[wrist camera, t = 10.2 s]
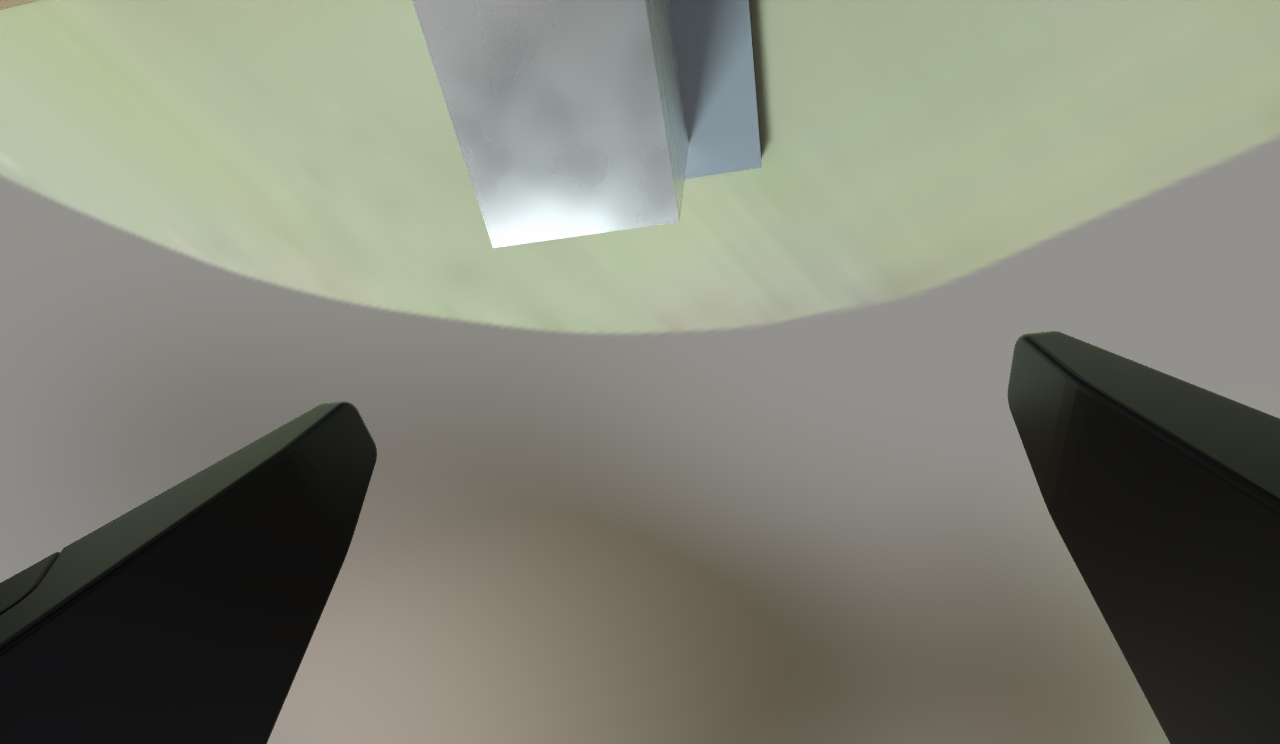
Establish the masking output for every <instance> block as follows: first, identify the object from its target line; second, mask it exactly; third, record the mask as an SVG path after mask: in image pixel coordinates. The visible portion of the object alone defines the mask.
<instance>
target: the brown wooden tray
mask: <svg viewBox="0 0 1280 744" xmlns="http://www.w3.org/2000/svg"><path fill="white" fill-rule="evenodd" d="M34 1H38V0H0V10H1V9H5V8H9V7H13V6H17V5H21V4H26V3H30V2H34Z"/></svg>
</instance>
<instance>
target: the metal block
mask: <svg viewBox="0 0 1280 744" xmlns="http://www.w3.org/2000/svg"><path fill="white" fill-rule="evenodd" d="M413 3H414V6H415V9H416V12H417V16H418V19H419V22H420V25H421V28H422V31H423V34H424V37H425V40H426V43H427V46H428V49H429V52H430V56H431V59H432V62H433V65H434V68H435V71H436V74H437V77H438V80H439V83H440V86H441V89H442V92H443V96H444V99H445V102H446V105H447V108H448V111H449V114H450V117H451V120H452V123H453V126H454V129H455V132H456V136H457V139H458V142H459V145H460V148H461V151H462V154H463V157H464V160H465V163H466V166H467V169H468V172H469V176H470V179H471V182H472V185H473V188H474V191H475V194H476V197H477V200H478V203H479V206H480V209H481V212H482V216H483V219H484V222H485V225H486V228H487V231H488V234H489V237H490V240H491V243H492V246H493V248H497V247H504V246H511V245H518V244H525V243H532V242H539V241H547V240H554V239H561V238H568V237H575V236H582V235H589V234H597V233H604V232H611V231H618V230H625V229H632V228H639V227H647V226H654V225H661V224H668V223H675V222H679V221H680V213H681V205H682V197H683V189H684V181H685V173H686V165H687V157H688V149H689V138H688V131H687V124H686V116H685V109H684V102H683V94H682V87H681V80H680V72H679V65H678V58H677V51H676V43H675V36H674V29H673V21H672V14H671V7H670V0H413Z"/></svg>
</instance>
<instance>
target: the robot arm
mask: <svg viewBox="0 0 1280 744" xmlns="http://www.w3.org/2000/svg"><path fill="white" fill-rule="evenodd" d="M1008 403H1009V407H1010V410H1011V413H1012V416H1013V419H1014V421H1015V424H1016V427H1017V429H1018V432H1019V435H1020V438H1021V440H1022V443H1023V446H1024V448H1025V451H1026V454H1027V456H1028V459H1029V462H1030V464H1031V467H1032V470H1033V472H1034V475H1035V478H1036V480H1037V483H1038V486H1039V488H1040V491H1041V494H1042V496H1043V499H1044V501H1045V504H1046V506H1047V509H1048V511H1049V513H1050V515H1051V517H1052V519H1053V521H1054V523H1055V526H1056V527H1057V530H1058V531H1059V533H1060V535H1061V537H1062V539H1063V541H1064V543H1065V545H1066V547H1067V549H1068V550H1069V552H1070V554H1071V556H1072V558H1073V560H1074V562H1075V563H1076V566H1077V568H1078V569H1079V571H1080V573H1081V575H1082V577H1083V579H1084V581H1085V583H1086V585H1087V586H1088V588H1089V590H1090V592H1091V594H1092V596H1093V598H1094V600H1095V602H1096V604H1097V605H1098V607H1099V609H1100V611H1101V613H1102V615H1103V617H1104V619H1105V621H1106V623H1107V624H1108V626H1109V628H1110V630H1111V632H1112V634H1113V636H1114V638H1115V640H1116V642H1117V643H1118V645H1119V647H1120V649H1121V651H1122V653H1123V655H1124V657H1125V659H1126V661H1127V662H1128V664H1129V666H1130V668H1131V670H1132V672H1133V674H1134V676H1135V678H1136V679H1137V681H1138V683H1139V685H1140V687H1141V689H1142V691H1143V693H1144V695H1145V697H1146V699H1147V700H1148V702H1149V704H1150V706H1151V708H1152V710H1153V712H1154V714H1155V716H1156V717H1157V719H1158V721H1159V723H1160V725H1161V727H1162V729H1163V731H1164V732H1165V735H1166V736H1167V738H1168V740H1169V742H1170V744H1280V419H1279V418H1277V417H1274V416H1271V415H1269V414H1266V413H1264V412H1261V411H1259V410H1256V409H1254V408H1251V407H1248V406H1246V405H1243V404H1241V403H1238V402H1236V401H1233V400H1231V399H1228V398H1226V397H1223V396H1221V395H1218V394H1216V393H1213V392H1210V391H1208V390H1205V389H1203V388H1200V387H1198V386H1195V385H1193V384H1190V383H1188V382H1185V381H1183V380H1180V379H1177V378H1175V377H1172V376H1170V375H1167V374H1164V373H1162V372H1160V371H1157V370H1154V369H1152V368H1149V367H1147V366H1144V365H1142V364H1139V363H1137V362H1134V361H1132V360H1129V359H1127V358H1124V357H1122V356H1119V355H1117V354H1114V353H1111V352H1109V351H1106V350H1104V349H1101V348H1099V347H1096V346H1094V345H1091V344H1089V343H1086V342H1083V341H1081V340H1078V339H1076V338H1073V337H1071V336H1068V335H1066V334H1063V333H1061V332H1055V331H1051V332H1041V333H1031V334H1024V335H1022V336H1021V337H1020V338H1018V340H1017V342H1016V344H1015V348H1014V354H1013V360H1012V366H1011V373H1010V380H1009V386H1008ZM376 457H377V449H376V445H375V443H374V441H373V439H372V437H371V435H370V433H369V431H368V429H367V427H366V425H365V423H364V421H363V419H362V417H361V415H360V414H359V412H358V410H357V408H356V407H355V406H354V405H353V404H352V403H349V402H346V401H345V402H333V403H325V404H321V405H319V406H317V407H315V408H313V409H312V410H310V411H308V412H306V413H304V414H303V415H301V416H299V417H297V418H295V419H294V420H292V421H290V422H288V423H287V424H285V425H283V426H281V427H279V428H278V429H276V430H274V431H272V432H270V433H269V434H267V435H265V436H263V437H262V438H260V439H258V440H256V441H254V442H252V443H251V444H249V445H247V446H245V447H244V448H242V449H240V450H238V451H236V452H235V453H233V454H231V455H229V456H228V457H226V458H224V459H222V460H221V461H218V462H217V463H215V464H213V465H211V466H210V467H208V468H206V469H204V470H202V471H201V472H199V473H197V474H195V475H194V476H192V477H190V478H188V479H186V480H185V481H183V482H181V483H179V484H177V485H176V486H174V487H172V488H171V489H168V490H167V491H165V492H163V493H161V494H159V495H158V496H156V497H154V498H152V499H151V500H149V501H147V502H145V503H143V504H142V505H140V506H138V507H136V508H134V509H133V510H131V511H129V512H127V513H126V514H124V515H122V516H120V517H119V518H117V519H115V520H113V521H111V522H109V523H108V524H106V525H104V526H102V527H100V528H99V529H97V530H95V531H93V532H92V533H90V534H88V535H86V536H84V537H83V538H81V539H79V540H77V541H75V542H74V543H72V544H70V545H68V546H67V547H65V548H64V549H63V550H62V551H61V553H60V552H56V553H54V554H52V555H50V556H48V557H47V558H45V559H43V560H41V561H40V562H38V563H36V564H34V565H33V566H30V567H29V568H27V569H25V570H23V571H22V572H20V573H18V574H16V575H14V576H13V577H11V578H9V579H7V580H5V581H3V582H1V583H0V744H267V742H268V739H269V737H270V735H271V732H272V730H273V728H274V725H275V723H276V721H277V718H278V716H279V713H280V711H281V709H282V706H283V704H284V701H285V699H286V697H287V695H288V692H289V690H290V687H291V685H292V682H293V680H294V678H295V676H296V673H297V671H298V668H299V666H300V664H301V662H302V659H303V657H304V654H305V652H306V650H307V647H308V645H309V643H310V640H311V638H312V636H313V633H314V631H315V628H316V626H317V624H318V621H319V619H320V617H321V614H322V612H323V610H324V607H325V605H326V603H327V600H328V598H329V595H330V593H331V591H332V588H333V586H334V584H335V581H336V579H337V577H338V574H339V572H340V569H341V567H342V565H343V562H344V560H345V557H346V554H347V552H348V549H349V546H350V544H351V540H352V538H353V535H354V531H355V528H356V525H357V522H358V518H359V515H360V512H361V509H362V505H363V502H364V499H365V495H366V492H367V489H368V485H369V482H370V479H371V476H372V473H373V469H374V466H375V463H376Z"/></svg>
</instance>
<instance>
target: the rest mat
mask: <svg viewBox="0 0 1280 744" xmlns="http://www.w3.org/2000/svg"><path fill="white" fill-rule="evenodd" d="M670 7H671V14H672V21H673V29H674V36H675V43H676V51H677V58H678V65H679V72H680V80H681V87H682V94H683V102H684V109H685V116H686V124H687V131H688V138H689V149H688V157H687V165H686V173H685V179H688V178H695V177H701V176H708V175H714V174H721V173H728V172H734V171H741V170H748V169H754V168H761V167H762V165H761V152H760V139H759V127H758V114H757V101H756V88H755V75H754V62H753V49H752V37H751V24H750V11H749V0H670Z"/></svg>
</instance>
